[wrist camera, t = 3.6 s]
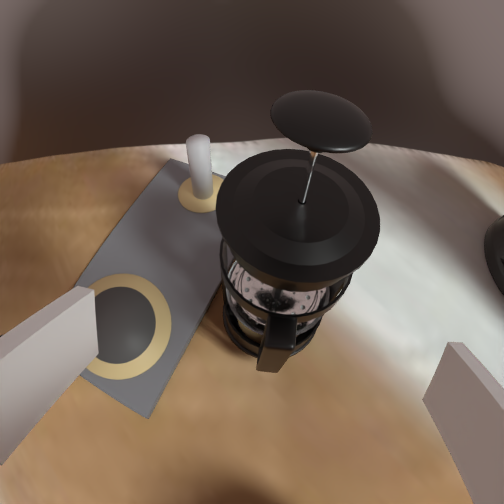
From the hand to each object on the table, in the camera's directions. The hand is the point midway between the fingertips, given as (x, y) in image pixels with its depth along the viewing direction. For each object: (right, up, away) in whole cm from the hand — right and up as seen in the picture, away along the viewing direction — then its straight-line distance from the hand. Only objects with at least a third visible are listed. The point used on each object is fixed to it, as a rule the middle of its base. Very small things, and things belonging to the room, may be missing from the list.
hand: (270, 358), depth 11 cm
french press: (+1, -3, +21) cm, 21 cm away
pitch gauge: (-11, +2, +23) cm, 25 cm away
